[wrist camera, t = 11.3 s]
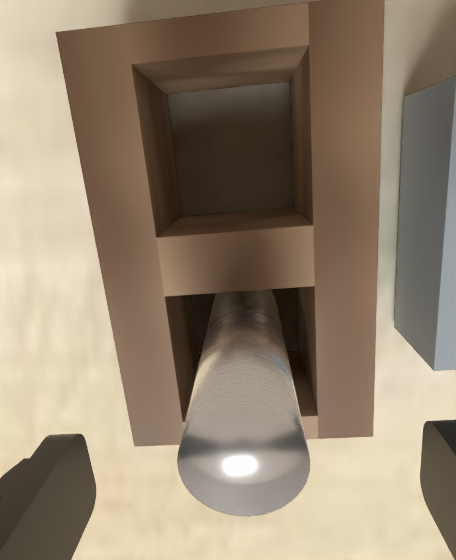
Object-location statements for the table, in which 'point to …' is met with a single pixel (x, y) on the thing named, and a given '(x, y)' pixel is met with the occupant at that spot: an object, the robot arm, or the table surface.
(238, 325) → the steel rod
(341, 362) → the walnut rack
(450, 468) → the robot arm
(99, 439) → the table surface
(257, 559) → the table surface
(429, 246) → the socket block
